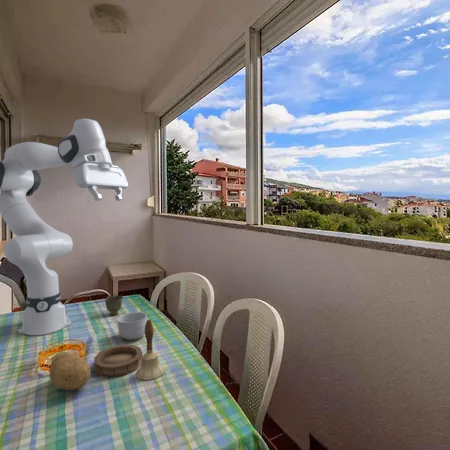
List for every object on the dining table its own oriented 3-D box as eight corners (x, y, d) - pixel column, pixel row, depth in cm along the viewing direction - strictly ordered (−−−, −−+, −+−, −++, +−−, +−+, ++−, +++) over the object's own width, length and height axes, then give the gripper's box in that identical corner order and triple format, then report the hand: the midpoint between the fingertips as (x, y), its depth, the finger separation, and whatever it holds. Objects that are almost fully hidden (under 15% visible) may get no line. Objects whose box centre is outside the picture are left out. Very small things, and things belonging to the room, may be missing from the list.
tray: (93, 359, 98) (93, 350, 97) (138, 349, 104) (137, 341, 103) (95, 382, 85) (95, 371, 85) (145, 369, 91) (145, 360, 91)
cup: (119, 317, 134) (118, 299, 134) (103, 317, 134) (102, 299, 134) (125, 311, 142) (124, 294, 141) (109, 311, 142) (109, 294, 141)
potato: (63, 406, 75) (62, 375, 74) (42, 385, 84) (41, 357, 83) (100, 388, 82) (99, 359, 82) (78, 370, 91) (76, 344, 91)
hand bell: (130, 373, 89) (128, 321, 88) (153, 362, 96) (152, 313, 94) (146, 384, 84) (145, 328, 83) (170, 371, 90) (169, 319, 89)
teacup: (139, 344, 108) (138, 322, 107) (112, 342, 110) (111, 320, 110) (155, 328, 122) (155, 309, 121) (131, 326, 124) (130, 307, 123)
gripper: (114, 169, 115) (124, 203, 114) (66, 162, 97) (78, 203, 96) (126, 162, 113) (136, 197, 112) (79, 155, 94) (91, 196, 93)
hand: (109, 200), depth 104 cm, fingers open, 8 cm apart
